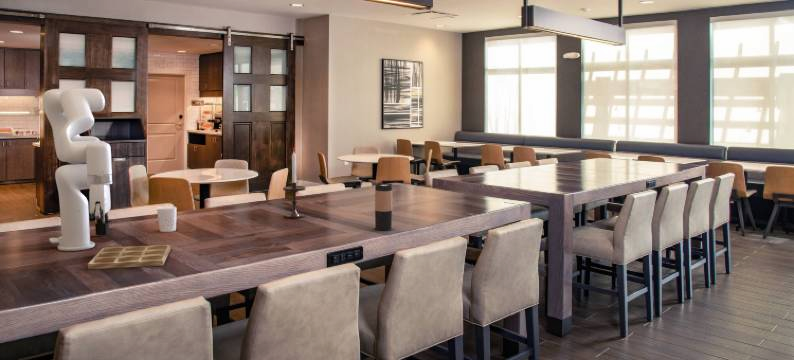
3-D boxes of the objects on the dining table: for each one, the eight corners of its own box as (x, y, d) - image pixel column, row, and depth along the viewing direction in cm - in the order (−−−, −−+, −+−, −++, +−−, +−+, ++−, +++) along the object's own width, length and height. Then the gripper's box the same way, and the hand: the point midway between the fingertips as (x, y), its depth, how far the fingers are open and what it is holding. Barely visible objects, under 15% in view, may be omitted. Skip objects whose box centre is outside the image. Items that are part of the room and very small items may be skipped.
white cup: (156, 232, 265) (155, 209, 264) (159, 229, 273) (158, 206, 272) (175, 232, 267) (175, 209, 265) (178, 228, 274) (177, 205, 273)
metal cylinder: (94, 235, 209) (94, 224, 208) (97, 232, 213) (97, 222, 212) (107, 234, 210) (107, 224, 209) (110, 232, 214) (109, 222, 213)
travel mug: (378, 231, 273) (378, 186, 270) (372, 228, 280) (372, 183, 277) (394, 230, 275) (395, 185, 273) (388, 227, 282) (388, 183, 280)
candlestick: (310, 216, 306) (309, 144, 302) (295, 219, 297) (294, 146, 293) (293, 214, 312) (292, 143, 307) (278, 217, 303) (277, 145, 298)
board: (87, 269, 208) (87, 264, 207) (102, 252, 230) (102, 247, 230) (163, 265, 213) (162, 260, 213) (170, 249, 236) (170, 244, 236)
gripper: (93, 177, 216) (96, 229, 218) (81, 183, 200) (84, 239, 202) (116, 176, 218) (119, 228, 220) (106, 182, 202) (109, 238, 204)
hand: (102, 232), depth 211 cm, fingers closed on metal cylinder, 4 cm apart
